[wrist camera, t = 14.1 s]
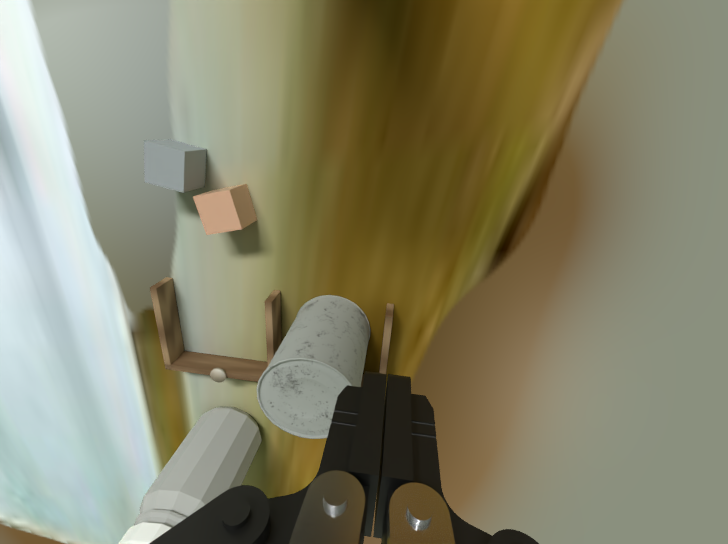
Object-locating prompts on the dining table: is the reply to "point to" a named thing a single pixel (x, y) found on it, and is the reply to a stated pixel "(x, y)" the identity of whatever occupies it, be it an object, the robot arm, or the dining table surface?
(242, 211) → the block terracotta
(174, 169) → the block slate
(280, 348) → the speckled white canister
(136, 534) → the jar
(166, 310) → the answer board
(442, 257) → the dining table surface
